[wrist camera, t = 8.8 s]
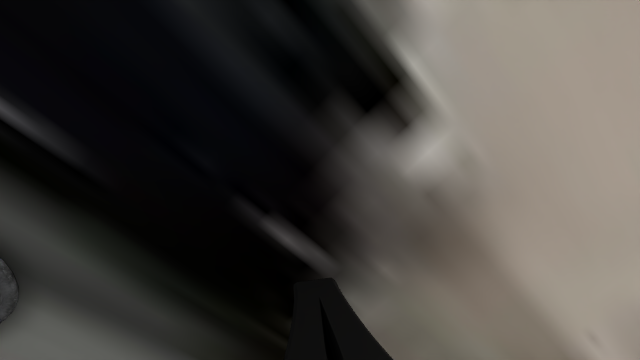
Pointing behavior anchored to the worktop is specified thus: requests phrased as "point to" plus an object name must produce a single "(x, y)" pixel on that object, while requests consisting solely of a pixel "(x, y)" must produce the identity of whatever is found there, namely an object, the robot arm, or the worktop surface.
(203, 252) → the worktop surface
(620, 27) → the worktop surface
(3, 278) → the grey stone vase
